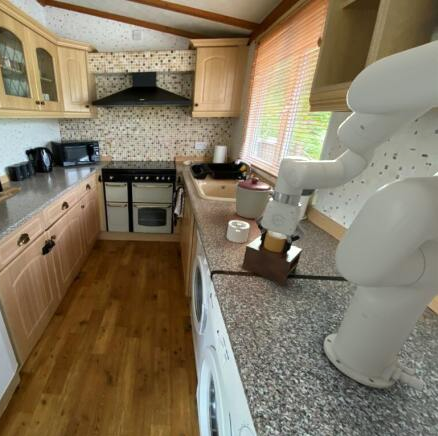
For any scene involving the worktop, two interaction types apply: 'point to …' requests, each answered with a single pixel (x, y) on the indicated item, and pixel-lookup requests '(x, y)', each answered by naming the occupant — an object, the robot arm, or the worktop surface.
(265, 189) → the canister
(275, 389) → the worktop surface
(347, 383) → the worktop surface
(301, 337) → the worktop surface
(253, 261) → the brown square pedestal
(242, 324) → the worktop surface
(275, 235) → the tape roll
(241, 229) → the white slotted cylinder
